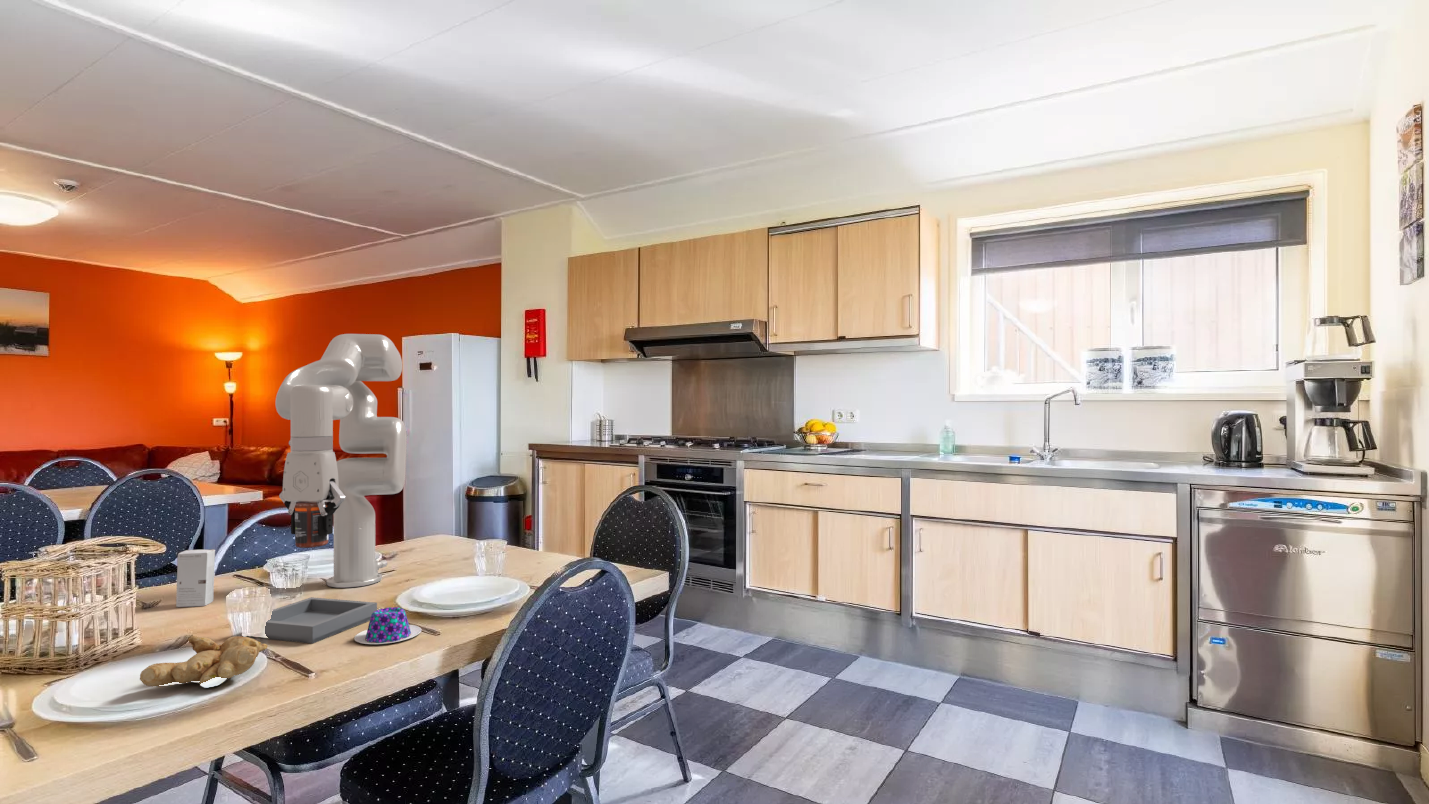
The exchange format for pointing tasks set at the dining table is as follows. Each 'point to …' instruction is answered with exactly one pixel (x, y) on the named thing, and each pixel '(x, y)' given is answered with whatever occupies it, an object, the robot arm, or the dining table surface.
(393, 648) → the dining table surface
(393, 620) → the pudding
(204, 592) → the skincare box
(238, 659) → the ginger root
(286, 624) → the tray
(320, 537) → the supplement bottle
